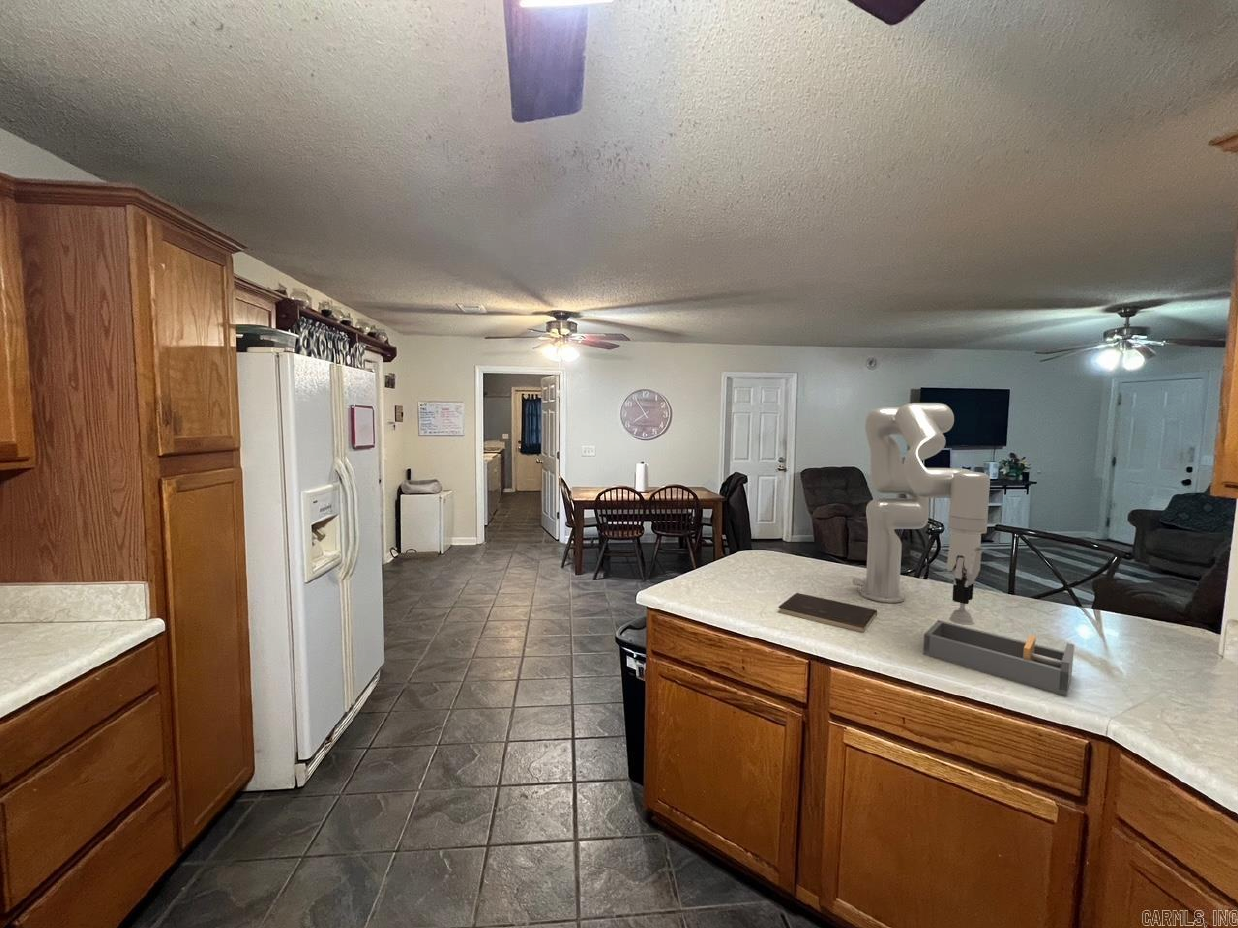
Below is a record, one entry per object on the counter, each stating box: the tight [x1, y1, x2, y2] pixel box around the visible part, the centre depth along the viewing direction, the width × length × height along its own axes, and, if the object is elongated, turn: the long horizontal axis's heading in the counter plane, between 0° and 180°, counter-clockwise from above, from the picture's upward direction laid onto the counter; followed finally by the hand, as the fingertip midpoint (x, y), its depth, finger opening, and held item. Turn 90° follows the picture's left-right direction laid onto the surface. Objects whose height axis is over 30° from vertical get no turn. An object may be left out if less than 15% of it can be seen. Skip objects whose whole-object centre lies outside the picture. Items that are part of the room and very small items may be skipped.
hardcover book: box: [778, 592, 878, 633], centre depth 148 cm, size 16×23×2 cm
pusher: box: [1023, 634, 1062, 666], centre depth 111 cm, size 6×9×6 cm
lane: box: [922, 619, 1075, 697], centre depth 117 cm, size 26×12×7 cm, turn 45°
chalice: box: [948, 546, 985, 626], centre depth 121 cm, size 7×7×18 cm
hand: (962, 599), depth 121 cm, fingers closed on chalice, 3 cm apart
